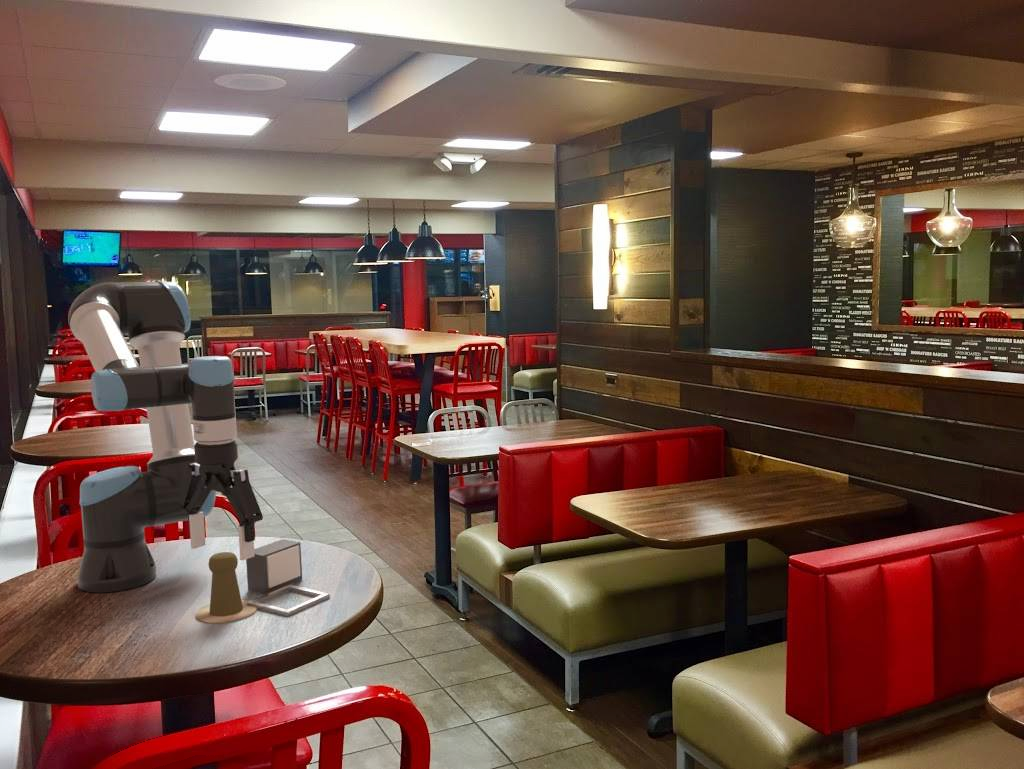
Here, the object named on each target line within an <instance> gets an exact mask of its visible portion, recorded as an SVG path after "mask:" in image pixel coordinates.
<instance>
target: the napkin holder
mask: <svg viewBox="0 0 1024 769" xmlns="http://www.w3.org/2000/svg"><path fill="white" fill-rule="evenodd" d="M301 548H302V546H301V542H299V541H294V540H289V539H284V538H283V539H279V540H277V541H274V542H270V543H268V544H265V545H263V546H259V547H256V548H254V554H255V556H254V557H251V558H249V559H246V560H245V561H246V563H245V564H246V577H247V580H246V581H247V591H248V592H251V593H252V592H253V593H256V594H259V595H260V594H261V595H265V594H268V593H270V592H273V591H275V590H277V589H280V588H282V587H285V586H287V585H293V584H295V583H298V582H300V581H303V570H302V569H303V567H302V549H301Z"/></svg>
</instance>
